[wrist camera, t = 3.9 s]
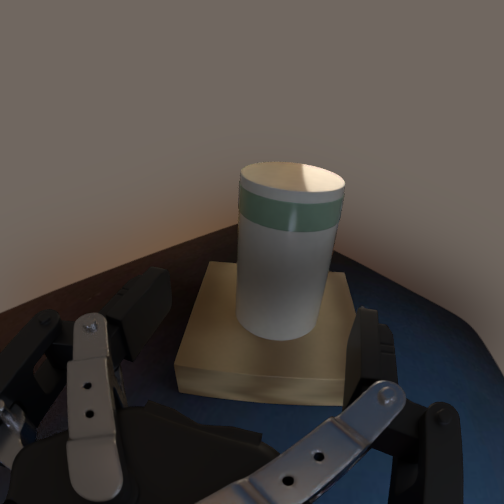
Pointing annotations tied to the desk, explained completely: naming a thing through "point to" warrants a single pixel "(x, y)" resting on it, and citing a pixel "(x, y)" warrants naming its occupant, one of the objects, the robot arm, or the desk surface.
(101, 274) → the desk surface
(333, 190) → the canister
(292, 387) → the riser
